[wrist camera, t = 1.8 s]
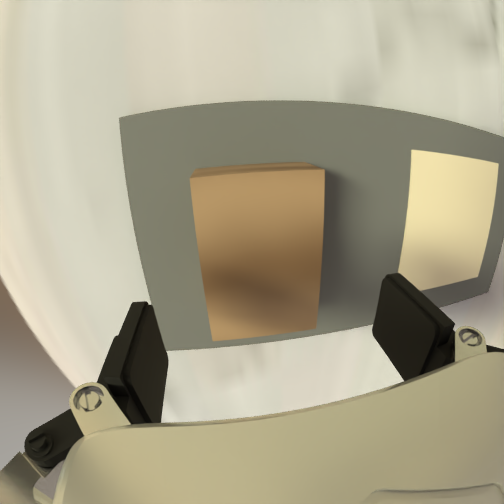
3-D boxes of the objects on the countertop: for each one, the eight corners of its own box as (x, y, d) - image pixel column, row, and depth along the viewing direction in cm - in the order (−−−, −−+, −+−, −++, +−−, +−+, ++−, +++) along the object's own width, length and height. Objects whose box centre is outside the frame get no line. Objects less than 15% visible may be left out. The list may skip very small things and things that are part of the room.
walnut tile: (195, 168, 15) (189, 178, 12) (304, 161, 15) (324, 169, 12) (212, 309, 18) (212, 341, 15) (302, 299, 19) (316, 328, 16)
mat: (122, 117, 13) (118, 117, 13) (511, 140, 16) (516, 142, 15) (166, 345, 20) (165, 351, 19) (484, 289, 23) (488, 292, 22)
